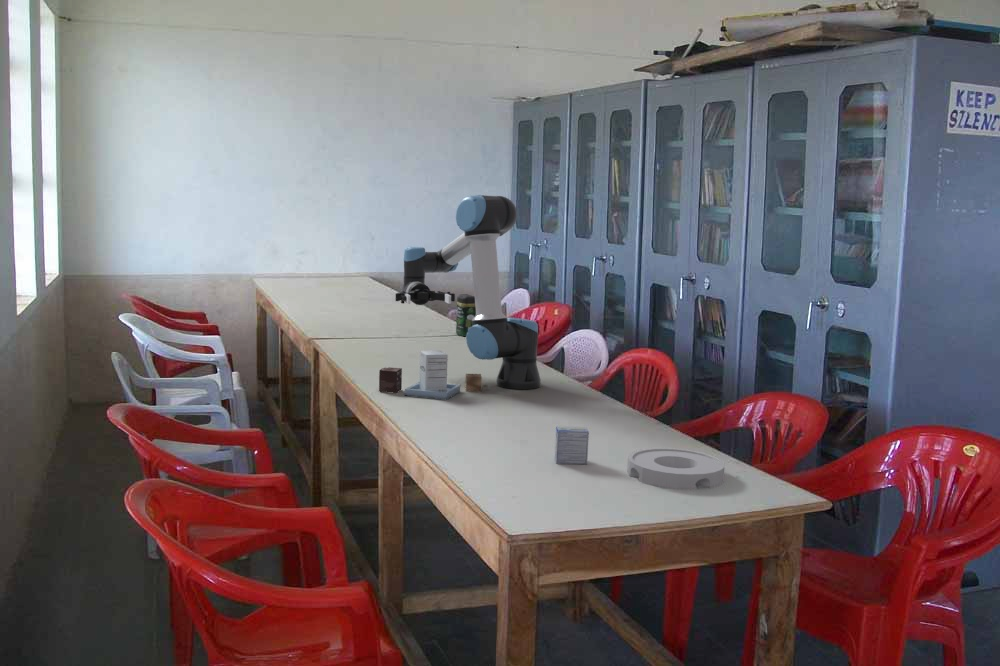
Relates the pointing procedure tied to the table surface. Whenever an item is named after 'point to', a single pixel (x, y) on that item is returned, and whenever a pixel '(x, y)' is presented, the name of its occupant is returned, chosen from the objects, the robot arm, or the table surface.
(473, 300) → the coffee jar
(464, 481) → the table surface
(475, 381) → the walnut block
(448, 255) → the robot arm
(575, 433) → the medicine box
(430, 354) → the supplement box
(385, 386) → the box
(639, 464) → the ashtray
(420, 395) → the tray
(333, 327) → the table surface
